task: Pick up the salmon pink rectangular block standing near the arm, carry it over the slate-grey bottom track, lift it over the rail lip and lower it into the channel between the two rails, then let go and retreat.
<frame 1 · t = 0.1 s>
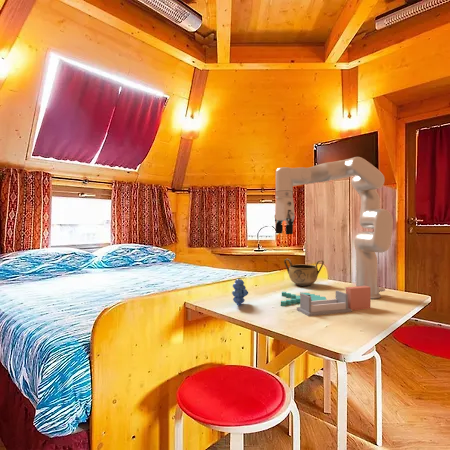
hand: (284, 233, 141), 31 cm above the table, tool pointing down, fingers open, 9 cm apart
salmon pink rectangular block: (358, 308, 133), on the table
alien figure: (303, 302, 145), on the table
track: (323, 310, 129), on the table
grapes: (241, 306, 137), on the table
ceramic bowl: (303, 285, 181), on the table
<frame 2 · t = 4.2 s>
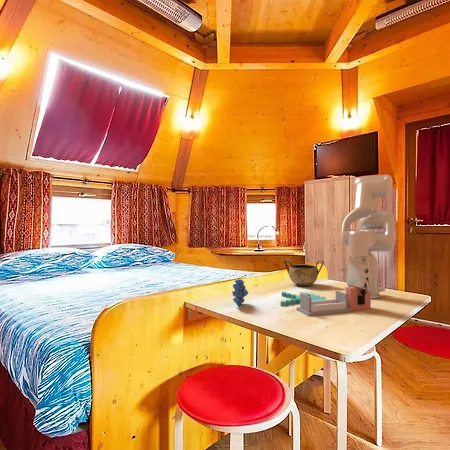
hand: (358, 303, 133), 2 cm above the table, tool pointing down, fingers closed on salmon pink rectangular block, 3 cm apart
salmon pink rectangular block: (358, 308, 133), on the table, touching gripper
everything else where it was.
when the fingers open (5 cm above the table, at t = 8.3 s): salmon pink rectangular block drops 1 cm, resting on track.
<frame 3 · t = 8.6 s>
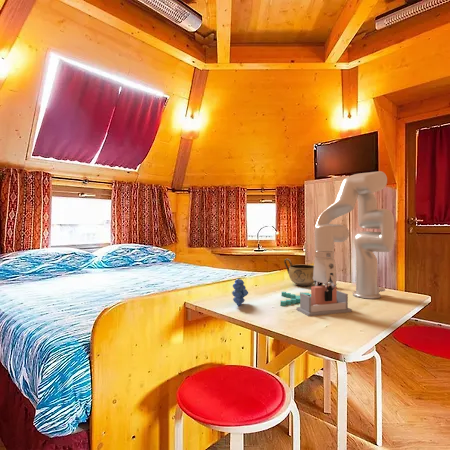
hand: (323, 298, 129), 5 cm above the table, tool pointing down, fingers open, 5 cm apart
salmon pink rectangular block: (323, 308, 129), point 1 cm above the table, touching track
everything else where it was.
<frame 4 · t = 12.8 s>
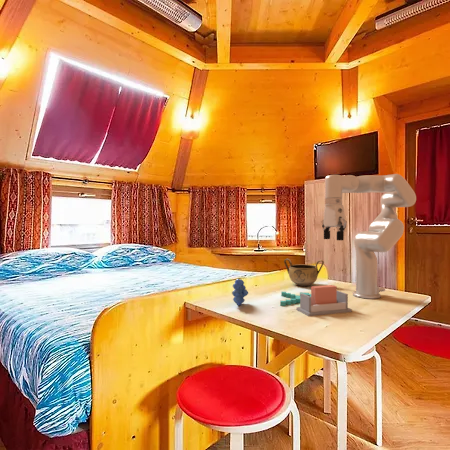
hand: (333, 239, 144), 28 cm above the table, tool pointing down, fingers open, 9 cm apart
nothing on the table moved.
at the end: salmon pink rectangular block 0.1 cm off-centre on the track, point 1.0 cm above the track's base; salmon pink rectangular block tilted 0°; the gripper is holding nothing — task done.
